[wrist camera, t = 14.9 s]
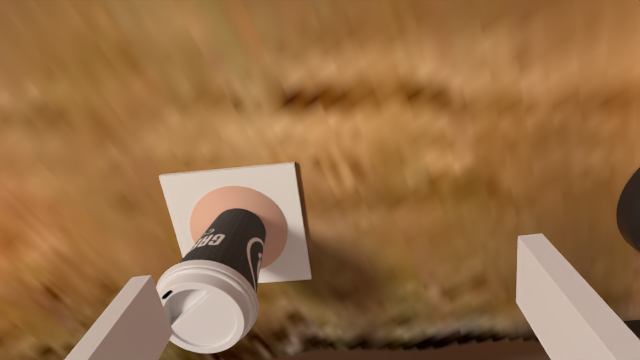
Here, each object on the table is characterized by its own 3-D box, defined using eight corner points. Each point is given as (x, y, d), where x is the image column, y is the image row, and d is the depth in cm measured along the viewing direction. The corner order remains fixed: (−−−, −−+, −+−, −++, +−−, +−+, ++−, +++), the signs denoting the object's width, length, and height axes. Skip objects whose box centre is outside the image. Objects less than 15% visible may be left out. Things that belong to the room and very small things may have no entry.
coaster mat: (294, 161, 45) (293, 164, 44) (311, 276, 51) (311, 280, 50) (160, 174, 46) (158, 176, 46) (193, 284, 52) (191, 288, 52)
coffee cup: (258, 185, 45) (223, 260, 32) (290, 251, 49) (271, 345, 35) (186, 211, 47) (123, 292, 33) (222, 272, 50) (179, 370, 37)
